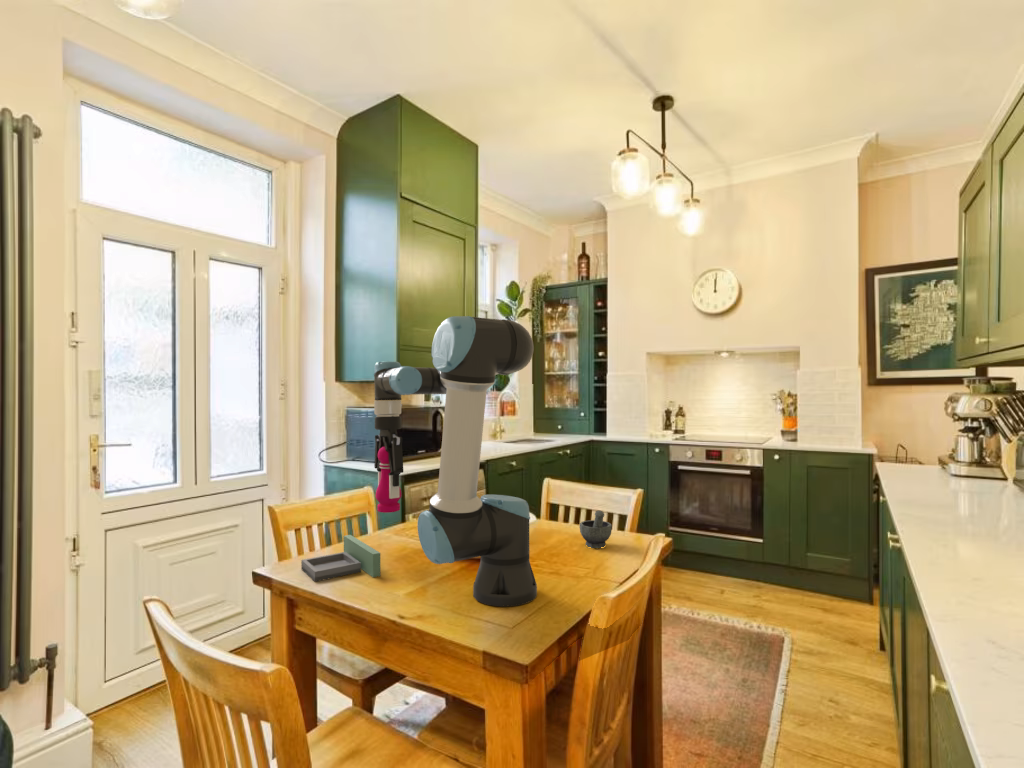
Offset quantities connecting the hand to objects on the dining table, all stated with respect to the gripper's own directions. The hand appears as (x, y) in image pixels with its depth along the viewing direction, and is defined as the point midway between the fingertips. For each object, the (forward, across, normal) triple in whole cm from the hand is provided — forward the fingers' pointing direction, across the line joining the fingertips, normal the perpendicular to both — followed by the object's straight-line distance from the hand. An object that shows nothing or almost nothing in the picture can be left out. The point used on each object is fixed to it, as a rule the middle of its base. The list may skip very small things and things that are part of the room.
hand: (388, 495), depth 153 cm
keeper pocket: (+18, +2, +16) cm, 24 cm away
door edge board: (+18, +1, +8) cm, 20 cm away
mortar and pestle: (+19, -26, -56) cm, 65 cm away
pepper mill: (+4, 0, 0) cm, 4 cm away
